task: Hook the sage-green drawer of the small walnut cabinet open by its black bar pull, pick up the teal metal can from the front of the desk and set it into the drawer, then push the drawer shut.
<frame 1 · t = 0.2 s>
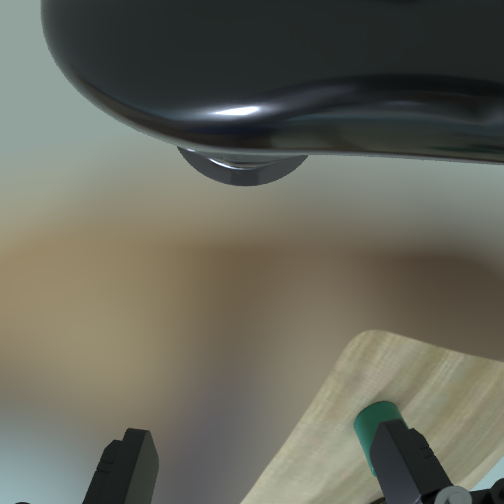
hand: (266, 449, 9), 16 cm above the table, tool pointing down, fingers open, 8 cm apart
can: (375, 418, 29), on the table
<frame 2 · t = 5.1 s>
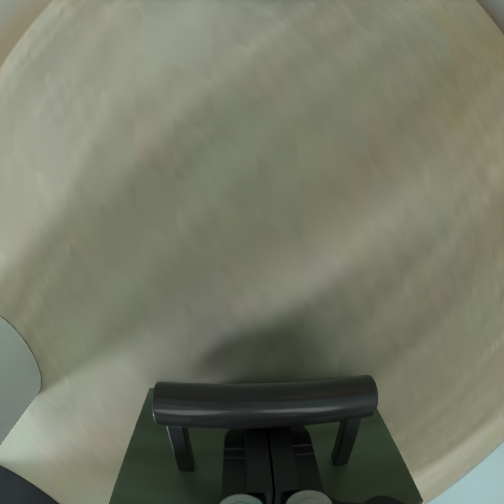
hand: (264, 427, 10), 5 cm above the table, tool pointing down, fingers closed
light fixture: (26, 494, 21), on the table
cylindrical container: (4, 356, 16), on the table
drawer: (260, 499, 12), point 5 cm above the table, slide at 1.6 cm
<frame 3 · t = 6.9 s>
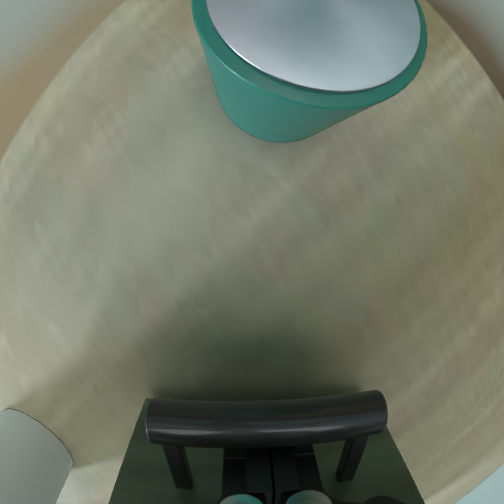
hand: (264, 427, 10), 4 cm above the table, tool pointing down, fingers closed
can: (280, 82, 11), on the table
cylindrical container: (35, 441, 17), on the table
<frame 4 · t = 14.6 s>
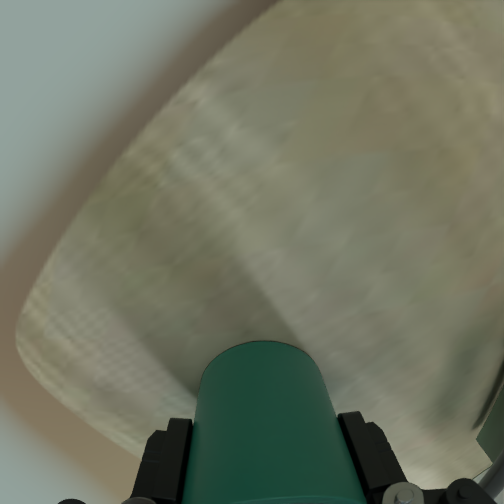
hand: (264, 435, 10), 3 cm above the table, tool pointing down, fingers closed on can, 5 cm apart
can: (261, 391, 12), on the table, touching gripper
cylindrical container: (478, 483, 18), on the table
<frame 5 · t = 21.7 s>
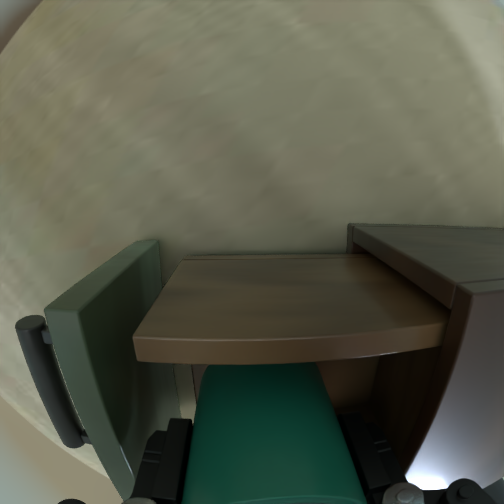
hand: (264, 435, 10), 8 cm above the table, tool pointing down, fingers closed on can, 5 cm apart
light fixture: (450, 492, 25), on the table
cabinet: (439, 321, 18), on the table
can: (261, 391, 12), point 5 cm above the table, touching gripper
drawer: (228, 392, 12), point 5 cm above the table, slide at 9.5 cm
when the fingers open (9 cm above the table, at t = 33.8 s): can drops 5 cm, resting on drawer.
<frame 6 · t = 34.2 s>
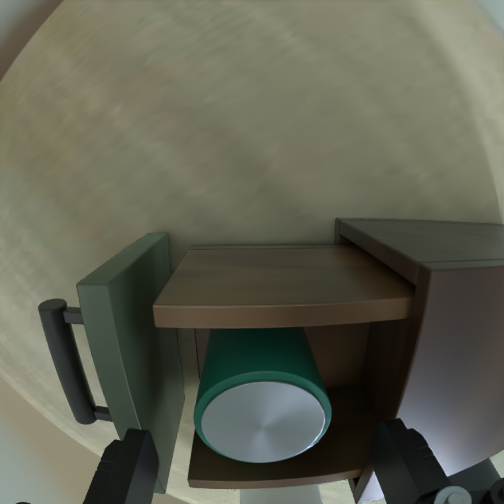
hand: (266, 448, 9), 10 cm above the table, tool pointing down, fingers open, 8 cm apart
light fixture: (445, 483, 27), on the table
cabinet: (424, 309, 19), on the table
can: (256, 336, 17), point 2 cm above the table, touching drawer
cylindrical container: (277, 476, 24), on the table
drawer: (229, 366, 14), point 5 cm above the table, slide at 9.4 cm, touching can
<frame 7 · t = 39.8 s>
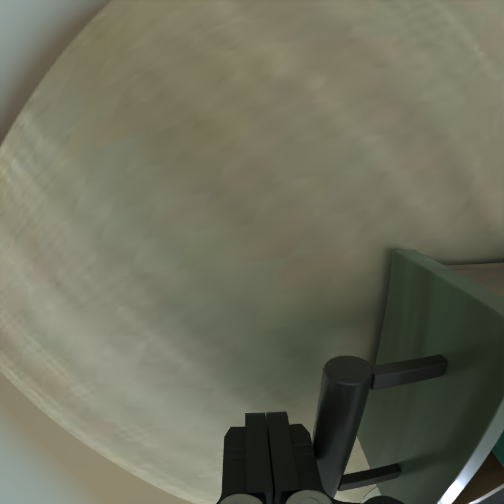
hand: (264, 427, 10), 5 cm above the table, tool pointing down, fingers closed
drawer: (485, 388, 10), point 5 cm above the table, slide at 8.3 cm, touching can, gripper
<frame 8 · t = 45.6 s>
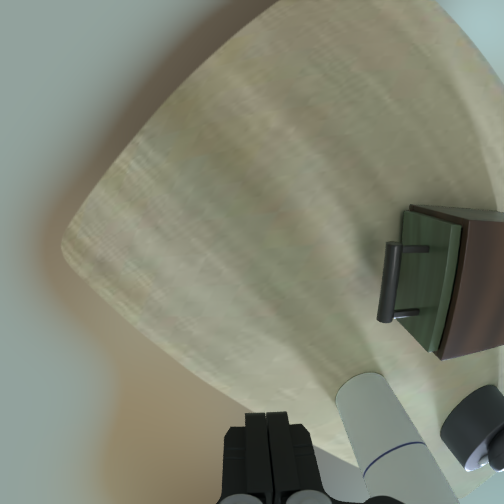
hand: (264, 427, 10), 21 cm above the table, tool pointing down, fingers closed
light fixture: (468, 416, 39), on the table
cabinet: (453, 260, 31), on the table
cylindrical container: (361, 393, 35), on the table
drawer: (453, 275, 26), point 5 cm above the table, slide at 0.0 cm, touching can
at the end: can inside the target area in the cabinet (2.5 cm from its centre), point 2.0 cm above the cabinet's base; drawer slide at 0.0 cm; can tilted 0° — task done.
